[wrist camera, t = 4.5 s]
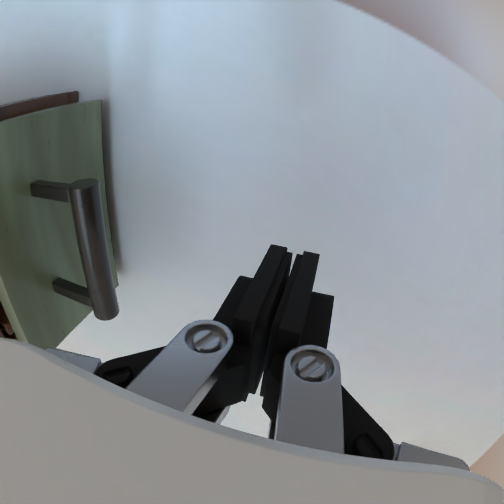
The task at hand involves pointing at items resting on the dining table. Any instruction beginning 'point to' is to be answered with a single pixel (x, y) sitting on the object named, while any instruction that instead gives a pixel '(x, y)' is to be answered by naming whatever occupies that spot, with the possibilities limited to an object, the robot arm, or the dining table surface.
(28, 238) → the drawer
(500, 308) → the dining table surface
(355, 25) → the dining table surface
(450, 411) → the dining table surface
